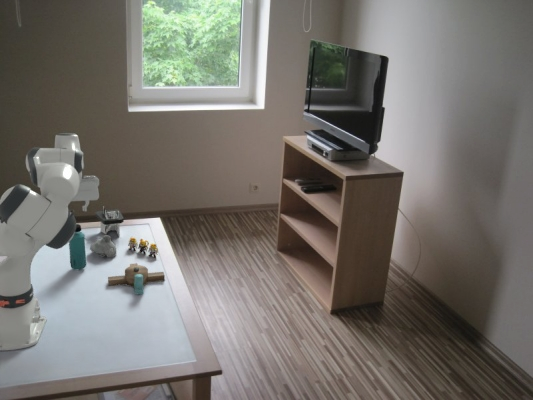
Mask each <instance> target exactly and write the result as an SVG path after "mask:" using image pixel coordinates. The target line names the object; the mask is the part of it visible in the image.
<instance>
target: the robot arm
mask: <svg viewBox="0 0 533 400" xmlns="http://www.w3.org/2000/svg"><path fill="white" fill-rule="evenodd" d="M84 154H85V153H84V152H83V151H82V150H81V144H80V139H79V135H78V134H76V133H74V132H62V133H60V132H59V133H57V134H56V135H55V139H54V147H32V148H31V149H29V151H27V153H26V156H25V166H26V170H27V171H28V174H29V179H30V181H31V183H32V185H33V186H35V187H38V188H40V189H39V190H40V194H39V193H37V192H36V191H34V190H32V189H31V187H29V186H26V185H24V184H20V183H18V184H15V185H13V186H12V187H10V188H8V189H7V190H5V191H4V193H3V194H2V195H1V197H0V218H1V219H0V257H6V258H5V259H3V260H1V261H0V351H14V350H21V349H26V348H30V347H33V346H35V345H37V344H38V342H39V340H40V337H41V335H42V333H43V330H44V329H45V325H46V323H47V317H46V316H43V315H41V310H40V301H39V299H38V298H37V297H35V296H34V287H33V283H32V281H31V279H32V278H31V267H32V262H33V260H34V258H35V256H36V255H37V253H38V252H39V251H40V250H41V249H42V248H43V247H44V246H46V247H49V248H51V249H54V250H58V249H62V248H63V247H64V246H66V245H68V244H69V242H70V241H71V239H72V238H73V236H74V233H75V230H76V224H77V220H76V218H75V215H74V214H75V210H74V209H70V208H69V205H70V204H71V202H82V201H84V202H85V204H84V205H82V206H81V207H82V212H83V213H84V212H88V209H87V208H88V206H89V204H90V201H98V199H99V198H100V193H99V188H98V187H99V186H100V178H99V177H98V176H96V175H92V174H91V175H83V170H84V169H85V160H84V158H85V157H84Z"/></svg>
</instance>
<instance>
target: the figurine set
mask: <svg viewBox="0 0 533 400" xmlns="http://www.w3.org/2000/svg"><path fill="white" fill-rule="evenodd" d="M139 241H140V242H139V244H138V242H137V240H136V238H135V237H130V239H129V240H128V245H127V246H128V251H131V250H133V252H137V250H139V251H138V252H137V253H138V254H142V253H143V254H142V255H144V256H145V255H146V254H147V253H149V254H148V257H153V259H156V258H157V256H158V253H159V248H157V244H156V243H150V242H149V240H147V239H146V240H145V239H143V238H141V239H140V240H139ZM149 244H150V245H149ZM136 249H137V250H136Z"/></svg>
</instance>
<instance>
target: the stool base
mask: <svg viewBox="0 0 533 400" xmlns="http://www.w3.org/2000/svg"><path fill="white" fill-rule="evenodd" d="M137 274H141V275H143V287H144V286H145V285H147V284H148V283H151V282H153V283H154V282H162V281H163V282H165V272H164V271H155V272H149V269H148V268H147V267H146V266H144V265H139V264H138V263H137V262H136V263H135V262H134V263H129V266H127V267H126V268H125V270H124V274H123V275H115V276H108V277H107V282H108V283H107V285H108V287H112V286H113V287H114V286H123V285H126V286H128V287H131V288H134V282H135V278H134V276H135V275H137Z"/></svg>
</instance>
